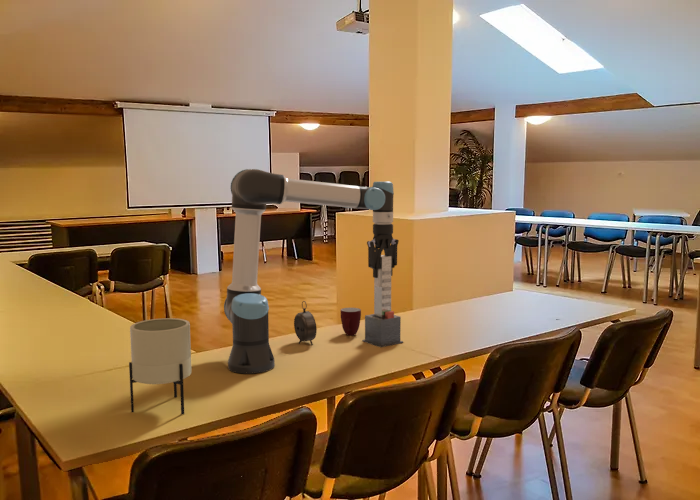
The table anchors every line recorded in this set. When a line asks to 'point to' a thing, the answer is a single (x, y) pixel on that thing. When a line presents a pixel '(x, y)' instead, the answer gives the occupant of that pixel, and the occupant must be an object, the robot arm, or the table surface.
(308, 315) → the alarm clock
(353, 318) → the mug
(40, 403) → the table surface
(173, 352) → the planter
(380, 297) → the column
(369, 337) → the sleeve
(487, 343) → the table surface
